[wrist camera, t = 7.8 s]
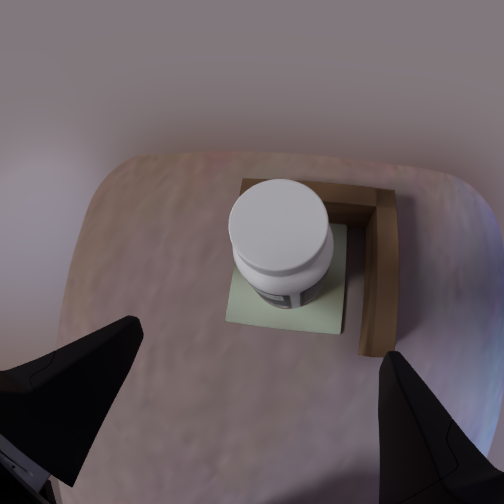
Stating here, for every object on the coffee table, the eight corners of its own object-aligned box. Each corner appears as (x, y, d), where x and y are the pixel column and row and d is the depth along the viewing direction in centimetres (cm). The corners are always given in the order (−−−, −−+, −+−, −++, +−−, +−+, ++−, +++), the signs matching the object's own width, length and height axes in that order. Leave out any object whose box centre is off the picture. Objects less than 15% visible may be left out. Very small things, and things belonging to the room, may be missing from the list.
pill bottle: (311, 232, 23) (315, 157, 13) (334, 297, 21) (361, 258, 11) (245, 252, 23) (208, 190, 14) (263, 319, 21) (234, 298, 12)
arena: (377, 355, 19) (393, 357, 15) (223, 339, 21) (207, 338, 18) (382, 213, 22) (394, 190, 19) (246, 202, 25) (236, 178, 21)
